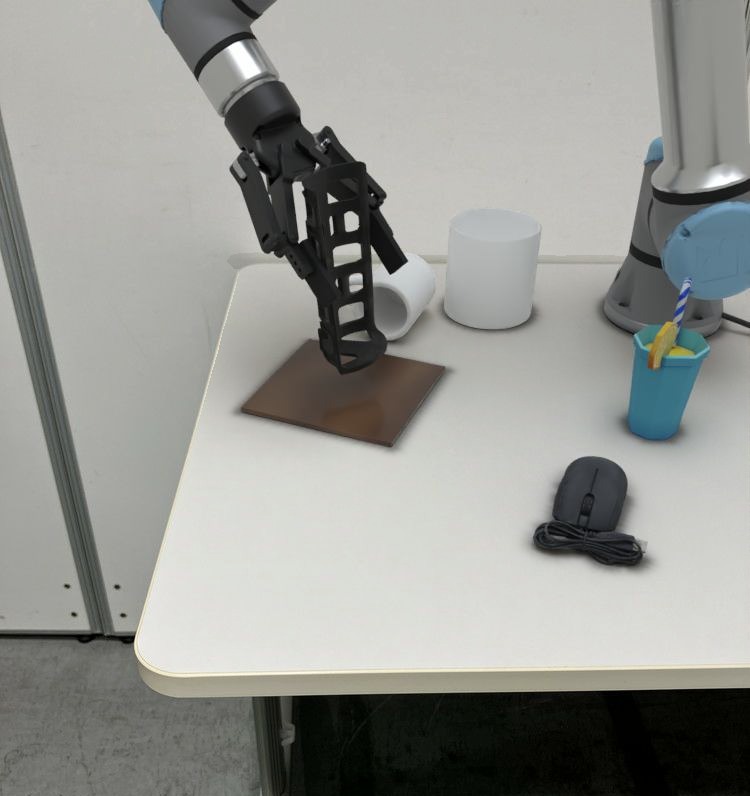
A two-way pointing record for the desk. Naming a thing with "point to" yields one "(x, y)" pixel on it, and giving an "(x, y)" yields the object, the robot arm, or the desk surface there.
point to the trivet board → (346, 395)
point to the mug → (398, 296)
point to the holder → (343, 266)
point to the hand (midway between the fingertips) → (367, 284)
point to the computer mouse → (591, 512)
